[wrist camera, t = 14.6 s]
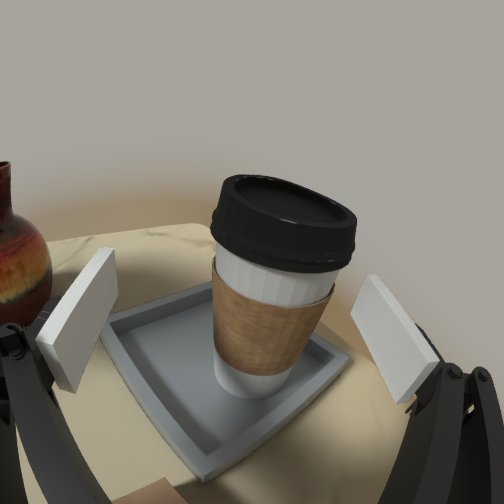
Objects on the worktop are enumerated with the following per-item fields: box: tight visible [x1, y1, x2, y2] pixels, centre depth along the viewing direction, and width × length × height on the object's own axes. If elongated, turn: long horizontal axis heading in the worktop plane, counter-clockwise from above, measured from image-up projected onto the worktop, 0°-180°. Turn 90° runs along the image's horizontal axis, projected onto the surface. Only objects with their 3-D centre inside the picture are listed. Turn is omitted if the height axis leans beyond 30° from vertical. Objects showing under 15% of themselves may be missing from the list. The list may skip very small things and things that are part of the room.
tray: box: [99, 281, 350, 485], centre depth 22 cm, size 16×16×2 cm
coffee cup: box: [210, 175, 357, 400], centre depth 18 cm, size 8×8×15 cm
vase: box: [0, 161, 52, 326], centre depth 19 cm, size 11×11×15 cm
